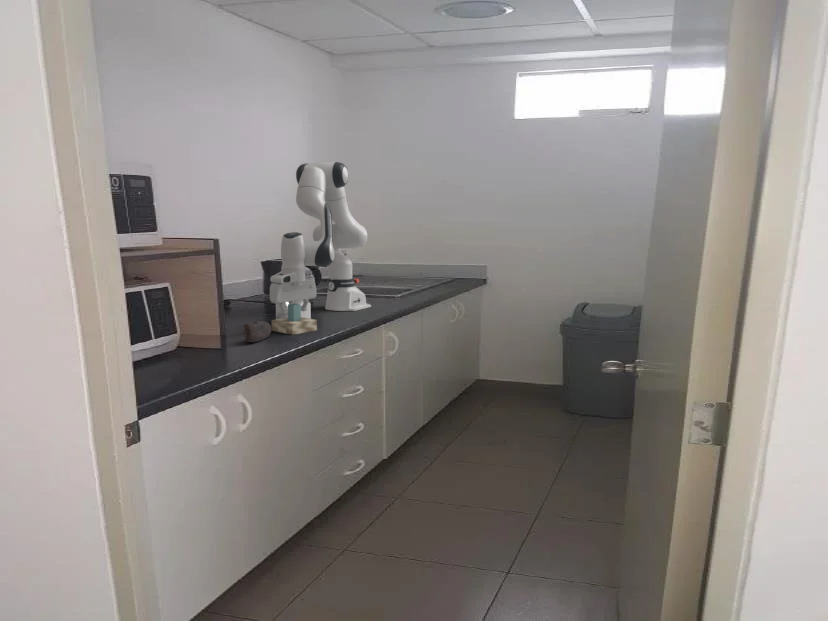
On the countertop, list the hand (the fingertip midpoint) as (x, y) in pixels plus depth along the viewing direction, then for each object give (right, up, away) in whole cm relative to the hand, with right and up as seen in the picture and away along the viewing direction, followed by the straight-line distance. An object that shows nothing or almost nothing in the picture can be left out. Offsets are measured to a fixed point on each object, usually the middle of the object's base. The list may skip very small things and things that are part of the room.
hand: (294, 312), depth 240 cm
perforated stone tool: (-9, -10, -18) cm, 22 cm away
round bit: (-7, -5, +14) cm, 17 cm away
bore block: (0, -7, +1) cm, 7 cm away
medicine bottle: (-2, -3, +23) cm, 24 cm away
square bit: (0, -7, +1) cm, 7 cm away
